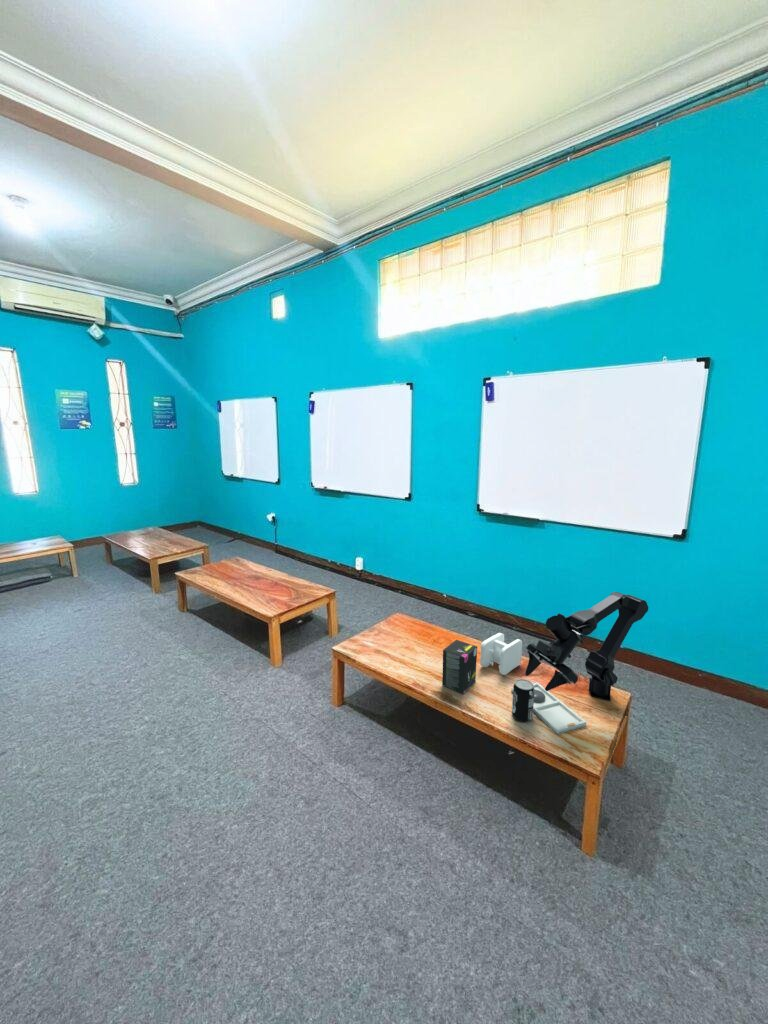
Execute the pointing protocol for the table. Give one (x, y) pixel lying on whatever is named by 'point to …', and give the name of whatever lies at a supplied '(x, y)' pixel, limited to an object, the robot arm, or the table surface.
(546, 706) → the white divided tray
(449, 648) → the tampon box
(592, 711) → the table surface
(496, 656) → the cable organizer
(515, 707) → the beverage can
